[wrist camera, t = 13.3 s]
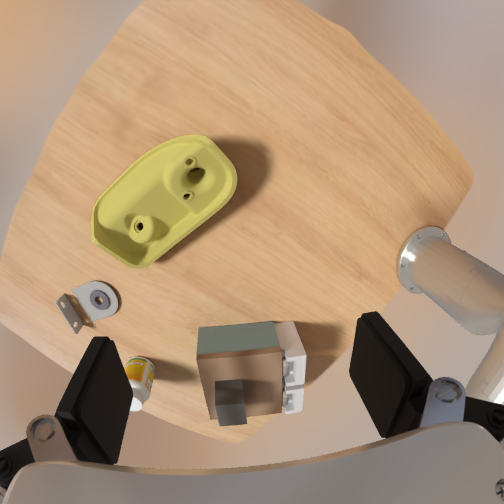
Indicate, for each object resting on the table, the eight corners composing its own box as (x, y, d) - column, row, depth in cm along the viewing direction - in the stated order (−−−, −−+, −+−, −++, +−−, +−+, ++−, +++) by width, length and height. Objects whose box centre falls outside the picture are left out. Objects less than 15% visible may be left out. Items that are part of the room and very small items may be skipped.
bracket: (126, 307, 45) (120, 319, 42) (82, 324, 46) (75, 334, 42) (106, 273, 43) (99, 283, 40) (63, 292, 43) (54, 302, 40)
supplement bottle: (161, 367, 50) (153, 406, 41) (144, 380, 50) (135, 418, 42) (138, 350, 48) (126, 388, 39) (121, 364, 49) (109, 400, 40)
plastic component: (140, 273, 41) (84, 237, 34) (138, 240, 46) (91, 205, 39) (251, 186, 37) (202, 129, 30) (236, 160, 42) (193, 111, 35)
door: (210, 414, 46) (210, 442, 40) (196, 354, 41) (194, 384, 35) (287, 406, 47) (294, 433, 41) (288, 345, 42) (298, 373, 36)
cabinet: (210, 387, 52) (210, 423, 44) (198, 327, 47) (195, 363, 39) (291, 378, 53) (301, 413, 45) (293, 318, 48) (306, 352, 40)
